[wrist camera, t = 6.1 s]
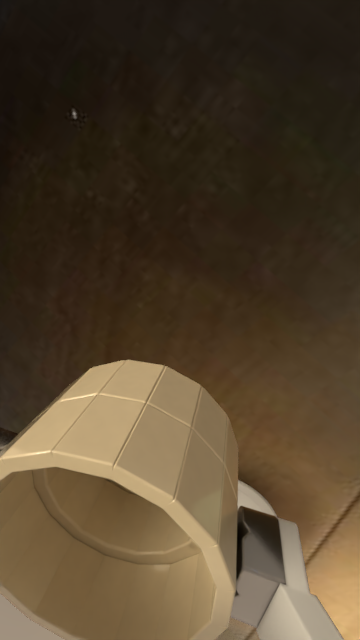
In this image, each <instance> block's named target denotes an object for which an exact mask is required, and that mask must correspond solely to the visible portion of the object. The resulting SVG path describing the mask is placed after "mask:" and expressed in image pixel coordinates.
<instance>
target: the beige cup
mask: <svg viewBox="0 0 360 640" xmlns="http://www.w3.org/2000/svg"><path fill="white" fill-rule="evenodd" d="M238 457H239V452H238V445H237V442H236V439H235V436H234V433H233V430H232V426H231V423H230V420H229V418H228V417H227V414H226V413H225V412H224V410H223V409H222V408H221V407H220V406H219V405H218V404H217V402H216V401H215V400H214V399H213V398H212V397H211V395H210V394H209V393H208V392H207V391H206V390H205V389H204V387H201V385H200V384H198V383H196V382H195V381H193V380H191V379H189V378H187V377H186V376H184V375H182V374H180V373H178V372H176V371H175V370H173V369H171V368H169V367H167V366H166V367H165V366H164V365H159V364H152V363H146V362H140V361H134V360H123V361H118V362H114V363H109V364H105V365H101V366H96V367H93V368H90V369H89V370H88V371H86V372H85V373H84V374H83V375H81V376H80V377H79V378H78V379H76V380H75V381H74V382H73V383H71V384H70V385H69V386H68V387H67V388H66V389H65V390H64V391H63V392H62V393H61V394H60V395H59V396H58V397H57V398H56V399H55V400H53V401H52V402H51V403H50V404H49V405H48V406H47V407H46V408H45V409H44V410H43V411H42V412H41V413H40V414H39V415H38V416H37V417H36V418H35V419H34V420H33V421H32V422H31V423H30V424H29V425H28V426H27V427H26V428H24V429H23V430H22V431H21V432H20V433H19V434H18V435H17V436H16V437H15V438H14V439H13V440H12V441H11V442H10V443H9V444H8V445H7V446H6V447H5V448H4V449H3V450H2V451H1V452H0V594H1V595H3V596H4V597H5V598H6V599H7V600H8V601H9V602H10V603H12V604H13V605H14V606H15V607H16V608H17V609H18V610H19V611H21V612H22V613H23V614H24V615H25V616H26V617H27V618H29V619H30V620H32V621H33V622H35V623H37V624H39V625H41V626H42V627H44V628H46V629H47V630H49V631H51V632H53V633H54V634H56V635H58V636H59V637H61V638H63V639H65V640H215V639H216V638H217V637H219V636H220V635H221V634H222V633H223V632H224V631H226V630H227V628H228V626H229V622H230V617H231V612H232V607H233V603H234V598H235V593H236V565H237V515H238V505H237V503H238Z"/></svg>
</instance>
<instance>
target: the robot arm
mask: <svg viewBox="0 0 360 640" xmlns="http://www.w3.org/2000/svg"><path fill="white" fill-rule="evenodd" d="M17 435H18V434H17V433H14V432H11V431H9V430H6V429H3V428H0V452H1V451H2V450H3V449H4V448H5V447H6V446H7V445H8V444H9V443H10V442H11V441H12V440H13V439H14V438H15V437H16V436H17ZM231 618H233V619H236V620H238V621H241V622H243V623H246V624H248V625H251V626H253V627H256V628H257V630H256V631H257V633H258V636H259V638H260V640H344V639H343V637H342V636H341V634H340V632H339V631H338V629H337V628H336V626H335V625H334V623H333V621H332V620H331V618H330V617H329V615H328V613H327V612H326V610H325V609H324V607H323V606H322V604H321V602H320V601H319V599H318V598H317V596H315V595H313V594H310V590H309V585H308V579H307V574H306V568H305V563H304V557H303V552H302V546H301V541H300V535H299V530H298V526H297V525H296V523H294V522H291V521H288V520H285V519H282V518H279V517H276V516H273V515H270V514H267V513H264V512H260V511H257V510H254V509H251V508H247V507H244V506H240V507H239V508H238V515H237V565H236V593H235V598H234V603H233V607H232V612H231Z"/></svg>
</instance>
